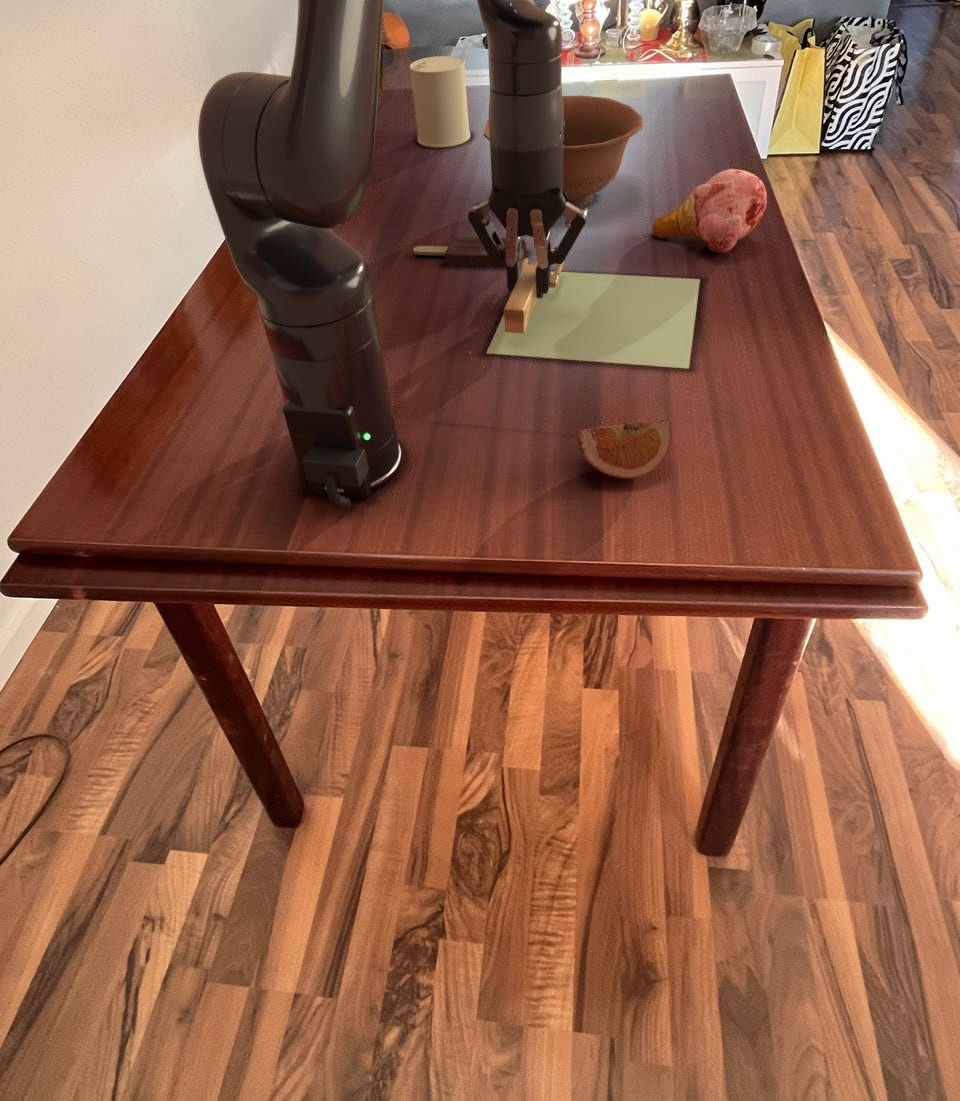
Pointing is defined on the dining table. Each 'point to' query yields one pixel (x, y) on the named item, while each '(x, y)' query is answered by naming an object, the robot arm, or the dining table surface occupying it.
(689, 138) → the dining table surface
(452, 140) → the can
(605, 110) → the bowl
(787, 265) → the dining table surface
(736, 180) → the ice cream
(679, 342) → the placemat
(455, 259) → the ice cream bar
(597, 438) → the fruit slice
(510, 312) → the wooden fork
